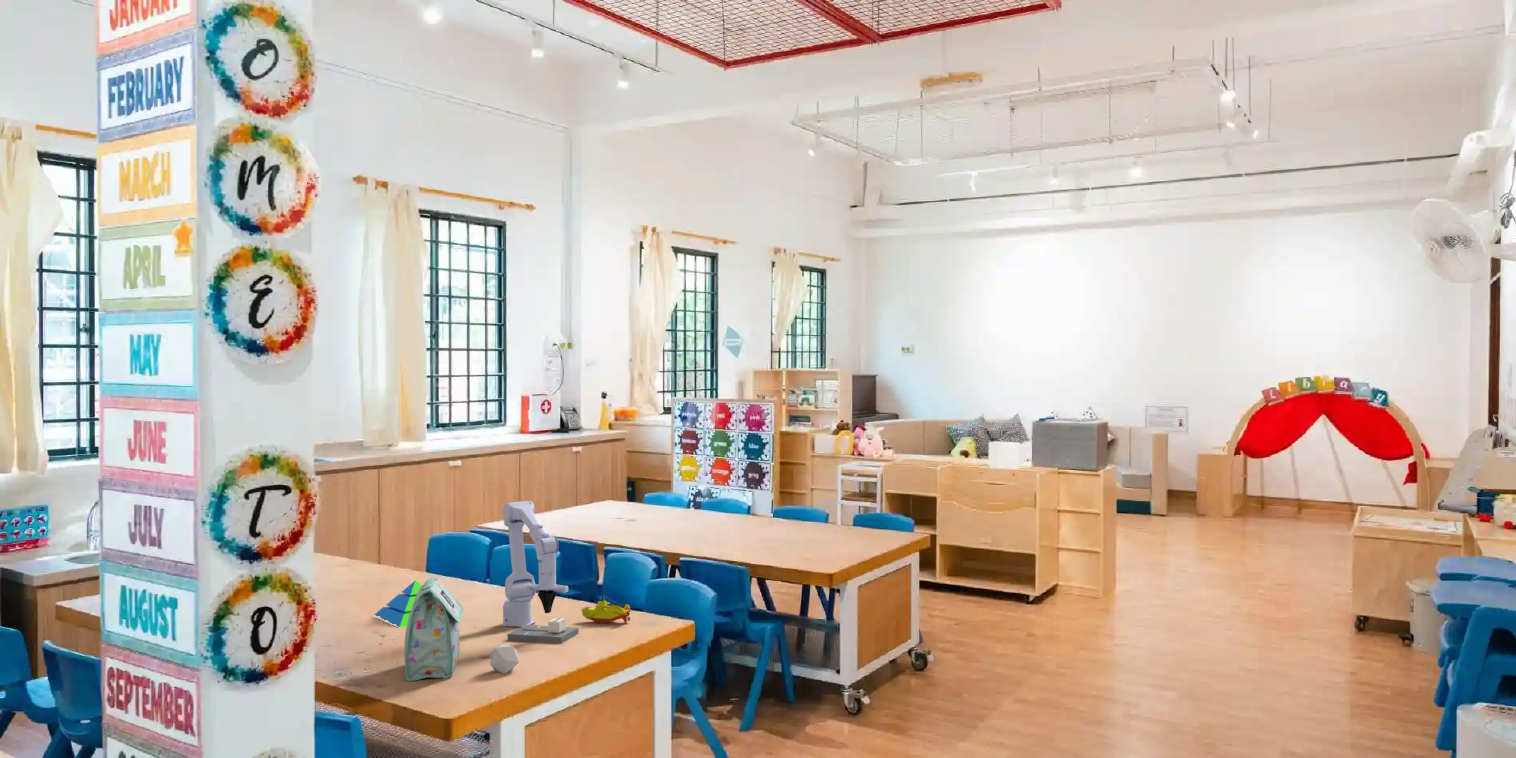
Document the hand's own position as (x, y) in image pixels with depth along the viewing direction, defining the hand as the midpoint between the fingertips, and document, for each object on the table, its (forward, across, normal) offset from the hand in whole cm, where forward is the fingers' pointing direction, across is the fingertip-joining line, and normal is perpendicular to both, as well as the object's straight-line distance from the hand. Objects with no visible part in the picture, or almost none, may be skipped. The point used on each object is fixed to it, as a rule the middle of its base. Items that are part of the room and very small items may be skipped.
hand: (547, 612), depth 338 cm
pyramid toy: (+9, -63, +17) cm, 66 cm away
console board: (+8, -2, 0) cm, 8 cm away
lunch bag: (+9, -17, -42) cm, 46 cm away
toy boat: (+9, +11, +23) cm, 27 cm away
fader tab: (+6, +3, 0) cm, 7 cm away
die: (+8, +5, -39) cm, 40 cm away
